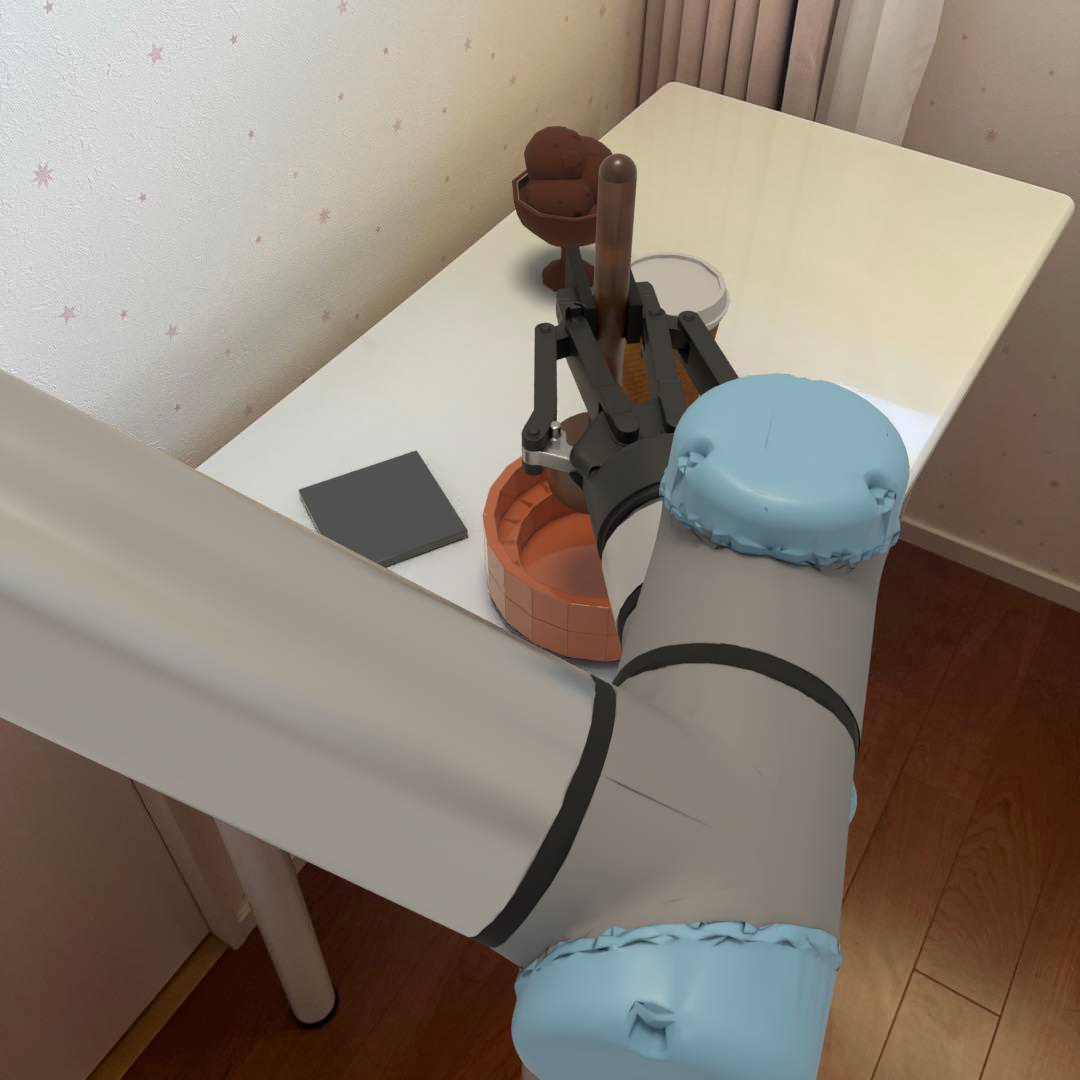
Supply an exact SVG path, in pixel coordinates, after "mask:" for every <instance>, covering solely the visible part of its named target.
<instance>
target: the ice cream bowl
mask: <svg viewBox="0 0 1080 1080" xmlns="http://www.w3.org/2000/svg"><path fill="white" fill-rule="evenodd" d="M612 154H613V152H612V150H611V148H609V147H608V146H607V145H605V144H604V143H603V142H601V141H600V140H598V139H596V138H594V137H592V136H586V135H580V134H579V132H578V131H576V130H574V129H571V128H568V127H566V126H561V125H553V126H552V125H551V126H550V125H549V126H546V127H544V128H541V129H540V130H538V131H536V132H535V133H533V135H532V137H531V139H530V140H529V142H528V143H527V144H526V146H525V149H524V152H523V157H524V163H525V168H526V169H525V170H524V171H523V172H521V173H520V174H519V175H517V176H516V177H515V178H513V179H512V180H511V187H512V197H513V198H512V200H513V203H514V204H513V205H514V208H515V209H514V210H515V213H516V215H517V216H516V217H518V219H519V221H520V223H521V225H522V226H523V227H524V228H526V229H527V230H528V231H529V232H531V233H532V234H533V235H535V236H536V237H538V238H539V239H541V240H542V241H544V242H545V243H547V244H548V245H550V246H554V247H557V248H560V258H559V259H554V260H551V261H550V262H549V263H548V264H547V265H546V266H545V267H544V268H543V269H542V272H541V279H542V285H544V286H545V287H547V288H548V289H550V290H551V291H552V292H555V293H557V291H558V289H562V288H566V286H565V262H566V246H574V245H578V246H579V248H581V247H585V246H590V245H593V244H595V242H596V220H597V198H598V175H599V168H600V166H601V163H602V162H603V160H604V159H605V158H607V157H608V156H610V155H612ZM582 260H583V263H584V267H585V270H586V274H587V277H588V281H589V284H590V287H591V288H593V287H594V265H593V264H591V263H590V262H588V261H586V260H585V259H583V258H582Z"/></svg>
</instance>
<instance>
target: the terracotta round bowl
mask: <svg viewBox="0 0 1080 1080" xmlns="http://www.w3.org/2000/svg"><path fill="white" fill-rule="evenodd" d="M547 473H548V467H546V469H545V471H544V472H543V473H542V474H540V475H536V476H531V475H528V474H525V473H524V472H523V470H522V455H521V456H520V457H518V458H516V459H515V460H513V461H512V462H511V463H509V464H508V465H506V467H505V468H504V469H503V470H502V471H501V473H500V474H499V475H498V477H497V478H496V479H495V480H494V482H493V483H492V485H491V486H490V487H489V490H488V493H487V497H486V500H485V505H484V508H483V511H482V531H483V533H482V534H483V548H484V564H485V566H484V567H485V573H486V581H487V586H488V591H489V592H488V593H489V596H490V598H491V600H492V601H493V603H494V604H495V606H496V608H497V609H498V611H499V613H500V614H501V616H502V617H503V619H504V620H505V622H506V623H507V624H508V625H510V626H511V627H512V628H513V629H515V630H516V631H517V632H518V633H520V634H521V635H522V636H524V637H525V638H526V639H527V640H528V641H529V642H530V643H532V644H534V645H536V646H538V647H540V648H544V649H546V650H549V651H552V652H554V653H556V654H559V655H561V656H563V657H565V658H567V657H568V658H574V659H581V660H588V661H598V662H613V661H620V659H621V656H622V652H623V651H622V647H621V644H620V640H619V637H618V634H617V630H616V626H615V622H614V618H613V614H612V609H611V605H610V601H609V597H608V593H607V588H606V584H605V580H604V576H603V572H602V561H601V559H600V557H599V554H598V550H597V546H596V541H595V537H594V533H593V529H592V524H591V520H590V516H589V515H587V514H583V513H579V512H577V511H574V510H572V509H570V508H568V507H566V506H565V505H563V504H562V503H561V502H560V501H558V500H557V499H556V497H555V496H554V495H553V493H552V492H551V490H550V488H549V485H548V477H547Z"/></svg>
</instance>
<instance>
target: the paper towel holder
mask: <svg viewBox="0 0 1080 1080" xmlns="http://www.w3.org/2000/svg"><path fill="white" fill-rule="evenodd" d="M637 183H638V169H637V165H636V163H635V161H634V160H633V159H632V158H631V157H630V156H629V155H627V154H624V153H620V152H619V153H612V155H610V156H608V157H607V158H605V159H604V160H603V162H602V163H601V166H600V168H599V175H598V198H597V220H596V242H595V243H594V244H595V246H594V264H593V266H594V285H593V286H592V288H593V289H592V294H593V299H594V301H595V304H596V308H597V310H596V331H595V339H596V341H597V344H598V346H599V348H600V350H601V352H602V355H603V357H604V359H605V361H606V363H607V366H608V368H609V370H610V372H611V374H612V377H613V379H614V381H615V383H616V384H618V383H619V384H620V386H621V388H622V376H623V362H624V349H625V334H626V321H627V307H628V293H629V280H630V266H631V259H632V253H633V252H632V251H633V238H634V237H633V236H634V223H635V209H636V208H635V207H636V196H637ZM560 423H561V429H563V430H564V431H565V432H566V434H567V442H568V443H569V444H570V445H571V446H574V445H575V444H576V442H577V441H578V440H579V439H580V437H581V436H582V435H583V433H584V432H585V431H586V429H587V428H588V427H589V425H590V424H591V423H592V421H591V418H590V416H589V414H588V411H585V412H580V413H577V414H574V415H571V416H569V417H567V418H565V419H564V420H562V421H561V422H560ZM547 477H548V485H549V488H550V490H551V492H552V493H553V495H554V496H555V497H556V499H557V500H558V501H560V502H561V503H562V504H563V505H565V506H566V507H568V508H570V509H572V510H574V511H577V512H579V513H583V514H587V515H589V512H588V508H587V503H586V499H585V496H584V494H583V493H582V491H581V490H580V489H579V488H578V487H577V486H575V485H574V483H573V482H572V481H571V479H570V476H569V472H565V471H561V470H557V469H553V468H549V467H548V473H547Z"/></svg>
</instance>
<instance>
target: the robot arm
mask: <svg viewBox="0 0 1080 1080" xmlns="http://www.w3.org/2000/svg"><path fill="white" fill-rule="evenodd" d="M582 259H583V257H582V253H581V250H580V247H579V246H578V245H574V246H566V262H565V286H566V288H562V289H558V291H557V292H555V316H556V321H557V324H556V325H554V324H553V323H551V322H541V323H538V324H536V325H535V327H534V348H533V349H534V352H533V353H534V355H533V357H534V359H533V360H534V363H533V364H534V365H533V378H534V380H533V387H534V388H533V410H532V412H531V414H530V416H529V417H528V419H527V421H526V423H525V424H524V426H523V428H522V430H521V456H522V470H523V472H524V473H525V474H528V475H531V476H536V475H540V474H542V473H543V472H544V471H545V469H546V467H549V468H553V469H557V470H561V471H565V472H569V476H570V479H571V481H572V482H573V483H574V485H575V486H577V487H578V488H579V489H580V490H581V491H582V493H583V494H584V496H585V499H586V503H587V508H588V512H589V516H590V520H591V524H592V529H593V533H594V537H595V541H596V546H597V550H598V554H599V557H600V559H601V561H602V572H603V576H604V580H605V584H606V588H607V593H608V597H609V601H610V605H611V609H612V614H613V618H614V622H615V626H616V630H617V634H618V637H619V640H620V644H621V647H622V651H623V652H622V656H621V659H620V660H619V663H618V666H617V669H616V672H615V676H614V678H613V680H612V681H611V682H609V681H608V682H607V681H605V680H603V679H601V678H599V677H598V676H595V675H593V674H592V673H590V672H588V671H585V670H584V669H582V668H580V667H578V666H576V665H574V664H572V663H570V662H568V661H566V660H564V659H563V658H561V657H559V656H557V655H555V654H553V653H552V652H549V651H547V650H545V649H543V648H542V647H540V646H539V645H536V644H534V643H533V642H531V641H529V640H528V641H527V640H526V639H524V638H523V637H520V636H518V635H516V634H514V633H512V632H510V631H509V630H508V629H507V630H506V629H505V628H503V627H501V626H499V625H497V624H495V623H493V622H491V621H489V620H487V619H485V618H483V617H481V616H479V615H477V614H476V613H474V612H472V611H470V610H468V609H466V608H464V607H462V606H460V605H458V604H456V603H455V602H452V601H451V600H449V599H446V598H444V597H443V596H441V595H439V594H437V593H435V592H434V591H431V590H429V589H428V588H425V587H423V586H421V585H420V584H418V583H416V582H414V581H412V580H410V579H408V578H407V577H404V576H402V575H400V574H398V573H397V572H394V571H393V570H391V569H389V568H387V567H383V566H381V565H379V564H377V563H375V562H373V561H371V560H369V559H367V558H366V557H364V556H362V555H360V554H358V553H356V552H354V551H352V550H350V549H348V548H346V547H344V546H342V545H340V544H338V543H337V542H335V541H333V540H331V539H329V538H327V537H325V536H323V535H321V534H319V533H318V531H316V530H314V529H311V528H310V527H307V526H306V525H303V524H302V523H300V522H298V521H296V520H294V519H292V518H290V517H288V516H287V515H284V514H283V513H281V512H279V511H277V510H275V509H273V508H271V507H269V506H267V505H265V504H263V503H261V502H259V501H257V500H256V499H253V498H251V497H250V496H249V495H248V496H247V495H245V494H243V493H242V492H240V491H238V490H236V489H234V488H232V487H230V486H228V485H226V484H225V483H223V482H221V481H219V480H216V479H215V478H213V477H211V476H209V475H207V474H205V473H204V472H201V471H199V470H197V469H195V468H194V467H192V466H190V465H188V464H185V463H184V462H182V461H180V460H178V459H176V458H174V457H172V456H171V455H168V454H167V453H164V451H163V452H162V451H161V450H158V449H156V448H155V447H153V446H151V445H149V444H147V443H145V442H143V441H141V440H140V439H137V438H135V437H133V436H131V435H130V434H128V433H127V432H124V431H123V430H120V429H118V428H116V427H114V426H113V425H111V424H109V423H106V422H104V421H103V420H101V419H99V418H97V417H95V416H93V415H91V414H89V413H87V412H85V411H83V410H82V409H80V408H78V407H75V406H74V405H71V404H70V403H68V402H66V401H64V400H62V399H61V398H58V397H56V396H54V395H53V394H50V393H49V392H47V391H45V390H43V389H41V388H39V387H37V386H35V385H34V384H32V383H29V382H27V381H25V380H24V379H21V378H20V377H17V376H16V375H14V374H12V373H10V372H8V371H6V370H4V369H2V368H0V719H3V720H5V721H8V722H9V723H12V724H14V725H15V726H18V727H20V728H22V729H24V730H26V731H29V732H31V733H33V734H34V735H37V736H39V737H41V738H43V739H46V740H48V741H50V742H53V744H56V745H58V746H61V747H63V748H65V749H67V750H69V751H71V752H73V753H75V754H78V755H80V756H82V757H84V758H86V759H88V760H90V761H93V762H95V763H96V764H99V765H101V766H103V767H105V768H108V769H109V770H112V771H114V772H116V773H118V774H120V775H122V776H124V777H127V778H129V779H130V780H133V781H136V782H137V783H139V784H142V785H144V786H146V787H148V788H150V789H152V790H154V791H156V792H158V793H160V794H163V795H164V796H167V797H170V798H171V799H174V800H175V801H178V802H180V803H183V804H184V805H186V806H188V807H191V808H192V809H195V810H196V811H199V812H201V813H203V814H205V815H207V816H209V817H212V818H214V819H216V820H218V821H221V822H222V823H225V824H226V825H229V826H231V827H233V828H235V829H237V830H240V831H242V832H243V833H245V834H248V835H250V836H252V837H254V838H256V839H258V840H260V841H263V842H265V843H267V844H270V845H272V846H273V847H275V848H277V849H280V850H282V851H284V852H286V853H288V854H290V855H293V856H295V857H297V858H299V859H301V860H303V861H306V862H307V863H309V864H312V865H314V866H316V867H318V868H320V869H322V870H324V871H326V872H329V873H331V874H333V875H335V876H337V877H339V878H341V879H343V880H345V881H348V882H350V883H352V884H353V885H356V886H358V887H361V888H363V889H365V890H366V891H368V892H369V891H370V892H371V893H373V894H376V895H378V896H379V897H382V898H384V899H386V900H388V901H391V902H392V903H395V904H397V905H399V906H401V907H403V908H405V909H407V910H409V911H411V912H413V913H416V914H418V915H420V916H422V917H424V918H427V919H429V920H431V921H433V922H435V923H437V924H439V925H442V926H444V927H446V928H448V929H450V930H452V931H454V932H456V933H459V934H460V935H463V936H465V937H467V938H469V939H471V940H473V941H475V942H477V943H479V944H481V945H483V946H486V947H488V948H490V949H491V950H493V951H494V952H496V953H497V954H498V955H501V957H504V958H505V959H507V960H508V961H510V962H511V963H513V964H514V965H516V966H517V967H519V968H518V969H519V970H518V973H517V976H516V979H515V982H514V984H513V985H514V992H515V997H516V1001H515V1005H514V1009H513V1014H512V1018H511V1026H510V1027H511V1029H510V1031H511V1039H512V1042H513V1045H514V1048H515V1051H516V1053H517V1055H518V1057H519V1059H520V1060H521V1062H522V1063H523V1065H524V1066H525V1068H527V1070H529V1072H531V1073H532V1074H533V1075H534V1076H535V1077H536V1078H538V1079H539V1080H817V1077H818V1072H819V1067H820V1062H821V1059H822V1058H821V1057H822V1052H823V1047H824V1042H825V1037H826V1031H827V1027H828V1021H829V1017H830V1011H831V1006H832V1001H833V996H834V990H835V986H836V981H837V977H838V971H840V967H841V965H842V963H843V961H844V955H843V951H842V945H841V943H840V929H841V918H842V908H843V907H842V906H843V898H844V897H843V896H844V886H845V885H844V884H845V873H846V862H847V861H846V860H847V851H848V839H849V829H850V825H851V822H852V821H853V820H854V817H855V814H856V810H857V807H858V795H857V789H856V786H855V783H854V774H855V773H856V771H857V769H856V768H857V760H858V754H859V752H860V746H861V742H862V740H861V739H862V733H863V723H864V715H865V709H866V708H865V707H866V699H867V692H868V691H867V689H868V682H869V673H870V664H871V657H872V647H873V639H874V630H875V619H876V611H877V601H878V595H879V588H880V583H881V578H882V573H883V570H884V566H885V562H886V558H887V556H888V553H889V550H890V549H891V548H892V547H893V546H895V545H896V544H897V543H898V540H899V537H900V533H901V522H900V519H901V518H902V516H901V511H902V507H903V503H904V499H905V495H906V492H907V489H908V484H909V480H910V472H911V470H910V469H911V467H910V461H909V460H910V459H909V455H908V450H907V447H906V445H905V442H904V440H903V438H902V436H901V434H900V433H899V431H898V429H897V428H896V426H895V425H894V424H893V422H892V421H891V420H890V419H889V418H888V417H887V416H886V415H885V413H883V412H882V411H881V410H880V409H879V408H878V407H876V406H875V405H874V404H873V403H871V402H870V401H869V400H867V399H865V398H864V397H863V396H861V395H859V394H858V393H856V392H854V391H852V390H850V389H848V388H846V387H844V386H841V385H839V384H836V383H834V382H830V381H827V380H825V379H810V378H807V377H797V376H795V375H793V374H790V373H777V372H776V373H762V374H761V373H760V374H752V375H746V376H742V377H739V375H738V374H737V372H736V371H735V369H734V367H733V366H732V364H731V363H730V361H729V360H728V358H727V357H726V355H725V353H724V352H723V350H722V349H721V347H720V346H719V344H718V342H717V341H716V338H715V339H714V338H713V336H712V335H711V333H710V332H709V330H708V329H707V327H706V325H705V324H704V322H703V321H702V319H701V318H700V316H699V315H698V314H697V313H696V312H693V311H683V312H681V313H679V315H678V317H677V316H671V315H668V314H666V312H665V310H663V309H662V308H661V307H660V304H659V301H658V299H657V296H656V293H655V290H654V287H653V285H651V284H650V283H649V282H648V281H645V282H635V279H634V276H633V273H632V270H631V267H630V280H629V293H628V307H627V321H626V334H625V338H626V341H627V344H636V343H640V337H641V338H642V347H641V358H643V360H644V366H645V372H646V378H647V385H648V391H649V397H650V400H648V401H644V402H630V401H627V399H626V397H625V394H624V392H623V390H622V388H621V386H620V384H619V383H618V384H616V383H615V381H614V379H613V377H612V374H611V372H610V370H609V368H608V366H607V363H606V361H605V359H604V357H603V355H602V352H601V350H600V348H599V346H598V344H597V341H596V339H595V331H596V310H597V308H596V304H595V301H594V299H593V290H592V287H590V284H589V281H588V277H587V274H586V270H585V267H584V263H583V260H584V259H583V260H582ZM673 349H674V352H675V354H676V356H677V357H678V359H679V361H680V363H681V364H682V366H683V368H684V369H685V371H686V373H687V374H688V376H689V378H690V379H691V381H692V383H693V384H694V386H695V388H696V389H697V391H698V393H699V396H698V399H696V400H695V401H694V402H693V403H692V404H691V405H690V406H689V407H687V406H686V402H685V397H684V392H683V387H682V382H681V380H680V379H678V374H677V368H676V363H675V358H674V353H673ZM563 359H565V362H566V363H567V365H568V368H569V370H570V372H571V375H572V377H573V380H574V383H575V385H576V387H577V390H578V392H579V394H580V397H581V399H582V402H583V404H584V406H585V409H586V412H588V414H589V416H590V418H591V421H592V423H591V424H590V425H589V427H588V428H587V429H586V431H585V432H584V433H583V435H582V436H581V437H580V439H579V440H578V441H577V442H576V444H575V445H574V446H571V445H570V444H569V443H568V442H567V434H566V432H565V431H564V430H563V429H561V422H560V421H558V366H557V365H558V361H559V360H563Z"/></svg>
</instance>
